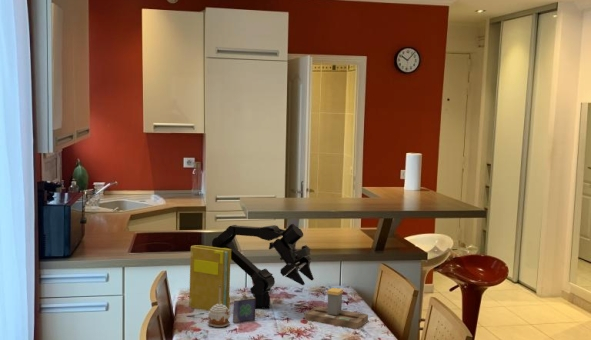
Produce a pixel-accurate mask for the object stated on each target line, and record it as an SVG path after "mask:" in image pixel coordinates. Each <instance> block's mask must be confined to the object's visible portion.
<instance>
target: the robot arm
mask: <svg viewBox="0 0 591 340" xmlns="http://www.w3.org/2000/svg"><path fill="white" fill-rule="evenodd" d="M236 236H243V237H254V238H255V237H256V238H260V239H261V240H263V241H264V240H265V241H272V242H269V247H268V249H269V250H272V249H274V250H275V252H276V253H278V255H279V256H280V257H279V260H280V261H283V262H284V263H285V265H284V266H283V267H281V268H280V270H279V271H280V272H279V273H280V274H281V275H282V277H285V278H288V279H290V280H292V281H294V282H295V283H298V284H299V285H301V286H304V285H305V281H304V279H303V277H302V276H301V274H302V275H303V276H305V277H306V278H308V280H310V281H313V280H314V279H315V278H314V276H313V273H312V270H311V267H310V264H311V261H312V258H311V257H310V255H311V248H310V247H309V246H308V245H307V244H306V245H305V244H304V245H302V246H301V248H300V249H298V250H297V249H296V248H292V245H293V246H294V245H295V244H296V243H297V242H298V241H299V240H300V239H302V238H303V237H304V232H303V230H302V229H301V228H299V227H298V226H297V225H295V224H294V223H292V224H291V223H290V224H289V226H287V228H286V229H283V228H280V227H279V226H278V225H276V224H275V225H273V224H272V225H266V226H248V225H237V224H233V225H229V226H228V227H227V228H226V229H225V230H224V231H223V232H221V233H220V234H218V235H217V236H216V237H215V238H213V239H212V242H211V247H217V248H227V249H231V261H233V263H235V264H236V266H238V267H239V268H240V269H241V270H243V272H245V273H246V274H247V275H248V276H249V277H250V278H251V282H252V281H253V283H254V286H253V285H252V286H251V288H249V289H250V293H251V294H252V297H255V298H256V305H255V310H257V309H258V310H259V309H261V310H262V309H270V305H271V295H270V291H271V290H272V288H273V287H274V286H275V282H276V281H275V276H273V275H274V274H273V273H271V272H270V271H269V270H268V269H267V268H263V269H260V268H258V267H257V266H256V265H255V264H254V263H253V262H251V260H249V259H248V258H247V257H246V256H245V255H244V254H243V253H241V252H240V251H239V250H238V249H237V248H236V247H235V244H234V242H233V241H234V240H235V238H236ZM279 237H281V238H279ZM273 240H274V241H273ZM300 273H301V274H300Z"/></svg>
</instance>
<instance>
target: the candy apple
mask: <svg viewBox="0 0 591 340" xmlns="http://www.w3.org/2000/svg"><path fill="white" fill-rule="evenodd" d="M220 301H221V286H219V304H216V305H215V306H213V307H212V308H211V309H210V311H208V314H207V315H208V317H207V318H208V319H209V321H207V323H208V326H211V327H216V328H224V327H226V326H229V325H230V324H231V323H230V320H229V319H230V317H231V313H230V312H231V311H230V310H228V308H227V307H226V306H225V305H222V304H220Z"/></svg>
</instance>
